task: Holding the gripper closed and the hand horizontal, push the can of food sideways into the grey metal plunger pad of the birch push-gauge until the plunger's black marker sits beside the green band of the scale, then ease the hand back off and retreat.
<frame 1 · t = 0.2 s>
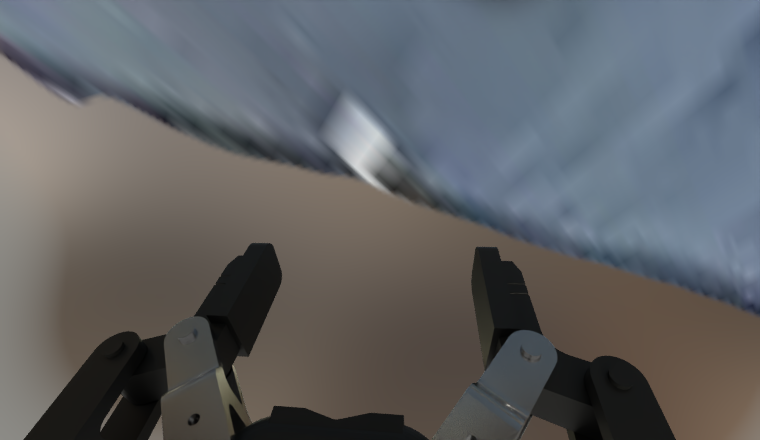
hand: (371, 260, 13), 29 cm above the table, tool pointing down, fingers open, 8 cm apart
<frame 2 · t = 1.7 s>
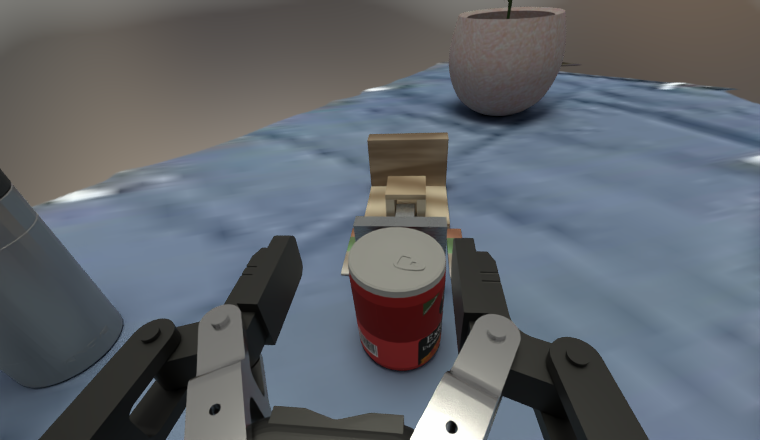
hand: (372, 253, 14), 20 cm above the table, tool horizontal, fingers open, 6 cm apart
canned food: (400, 338, 34), on the table
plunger: (403, 221, 39), point 6 cm above the table, slide at 0.0 cm
gauge housing: (404, 255, 43), on the table
plant pot: (495, 112, 82), on the table
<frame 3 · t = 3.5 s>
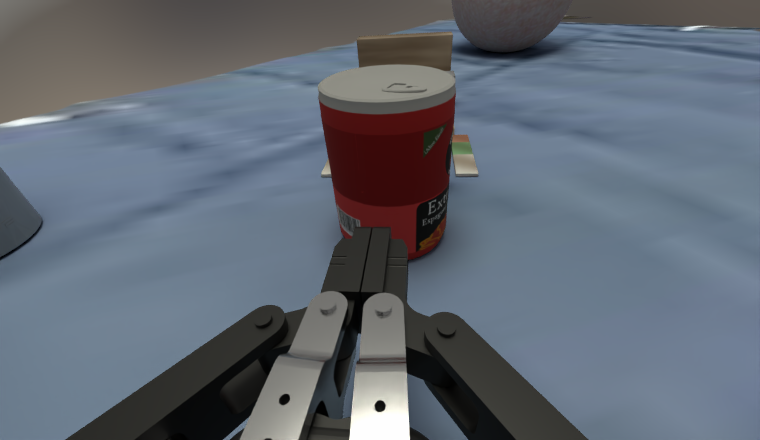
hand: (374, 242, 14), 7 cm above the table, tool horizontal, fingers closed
canned food: (392, 231, 26), on the table
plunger: (398, 106, 32), point 6 cm above the table, slide at 0.0 cm
gauge housing: (399, 159, 35), on the table
plant pot: (502, 51, 75), on the table
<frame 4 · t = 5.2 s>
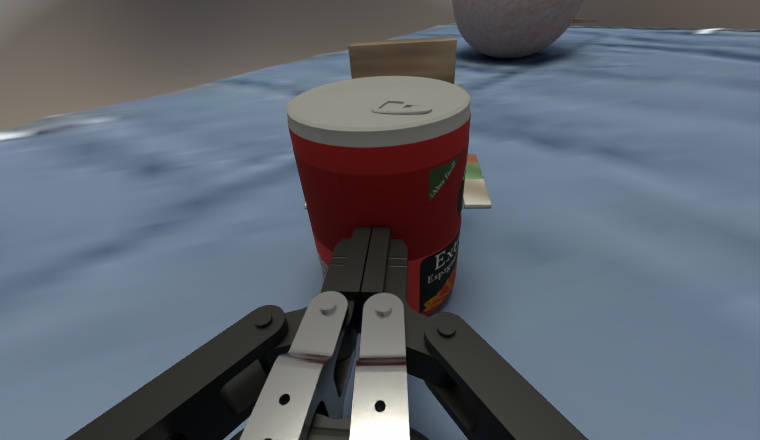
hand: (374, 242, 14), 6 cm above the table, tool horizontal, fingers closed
canned food: (389, 279, 21), on the table, touching gripper
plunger: (394, 125, 27), point 6 cm above the table, slide at 0.0 cm
gauge housing: (397, 184, 30), on the table
plant pot: (507, 56, 70), on the table
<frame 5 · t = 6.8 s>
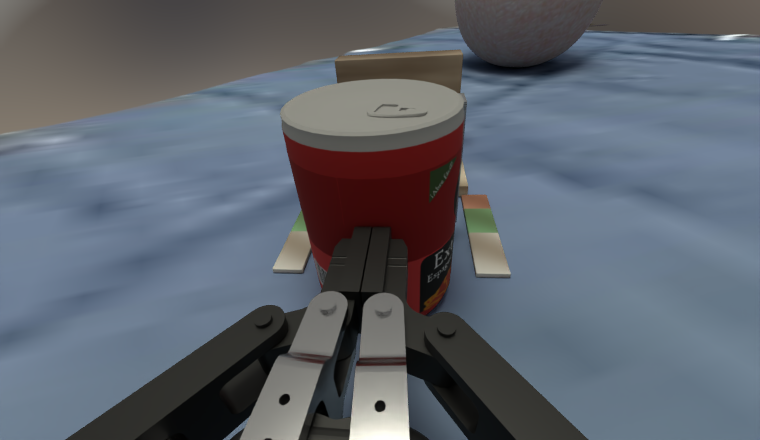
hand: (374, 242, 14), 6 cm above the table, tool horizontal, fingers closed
canned food: (384, 281, 21), on the table, touching gripper, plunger
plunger: (392, 132, 26), point 6 cm above the table, slide at 6.1 cm, touching canned food
gauge housing: (390, 237, 24), on the table
plant pot: (514, 65, 64), on the table
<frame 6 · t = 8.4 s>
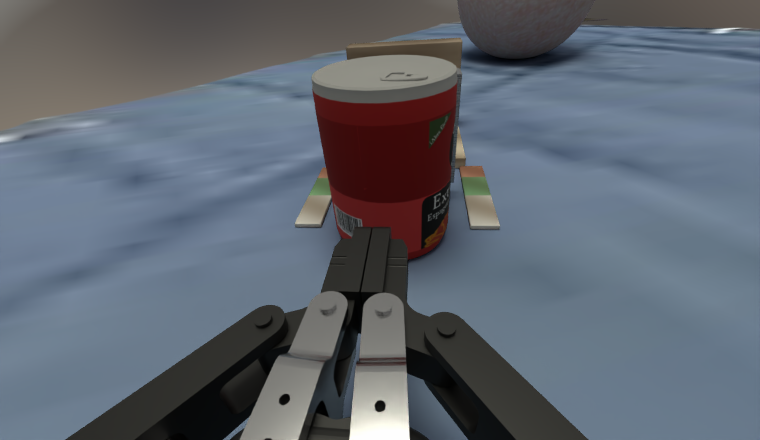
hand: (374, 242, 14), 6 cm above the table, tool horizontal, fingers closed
canned food: (392, 230, 25), on the table
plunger: (398, 107, 29), point 6 cm above the table, slide at 6.4 cm
gauge housing: (396, 200, 28), on the table
plant pot: (514, 57, 67), on the table
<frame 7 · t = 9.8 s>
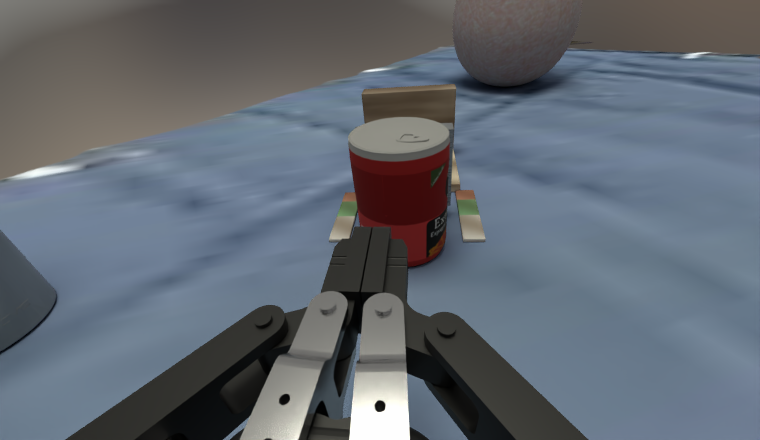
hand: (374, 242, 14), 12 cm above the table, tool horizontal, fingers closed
canned food: (403, 243, 32), on the table
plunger: (406, 146, 37), point 6 cm above the table, slide at 6.4 cm
gauge housing: (406, 219, 35), on the table
plant pot: (504, 84, 75), on the table
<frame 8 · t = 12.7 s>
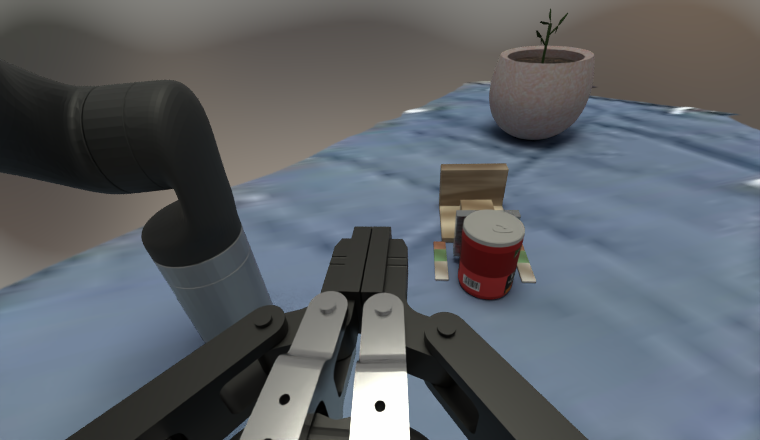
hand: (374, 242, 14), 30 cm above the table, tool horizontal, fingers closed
canned food: (483, 282, 52), on the table
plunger: (479, 214, 56), point 6 cm above the table, slide at 6.4 cm
gauge housing: (481, 264, 54), on the table
plant pot: (528, 135, 94), on the table
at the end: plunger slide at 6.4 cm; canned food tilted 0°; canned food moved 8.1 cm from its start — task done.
